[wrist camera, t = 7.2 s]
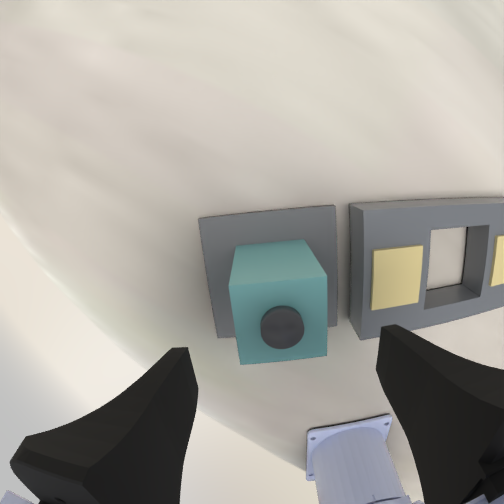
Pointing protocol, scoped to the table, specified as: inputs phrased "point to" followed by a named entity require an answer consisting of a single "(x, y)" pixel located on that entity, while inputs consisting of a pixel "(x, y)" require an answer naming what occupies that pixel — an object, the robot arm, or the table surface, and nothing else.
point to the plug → (278, 302)
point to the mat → (264, 231)
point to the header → (422, 262)
